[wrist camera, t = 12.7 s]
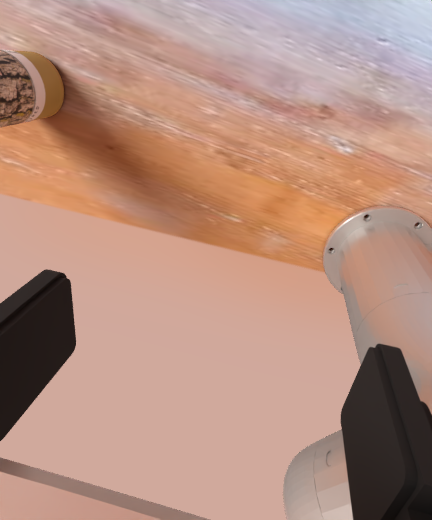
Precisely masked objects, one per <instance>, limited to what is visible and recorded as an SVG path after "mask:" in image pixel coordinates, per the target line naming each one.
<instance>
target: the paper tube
mask: <svg viewBox="0 0 432 520" xmlns="http://www.w3.org/2000/svg"><path fill="white" fill-rule="evenodd" d="M63 99H64V87H63V82H62V79H61V77H60V75H59V73H58V71H57V69H56V68H55V66H54V65H53V64H52V63H51V62H50V61H49V60H48V59H47V58H45V57H44V56H42V55H40V54H37V53H34V52H27V51H11V50H0V127H4V126H9V125H14V124H19V123H24V122H29V121H33V120H38V119H43V118H47V117H50V116H53V115H54V114H56V113H57V112H58V111H59V109H60V108H61V106H62V103H63Z"/></svg>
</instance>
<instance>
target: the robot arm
mask: <svg viewBox="0 0 432 520" xmlns="http://www.w3.org/2000/svg"><path fill="white" fill-rule="evenodd" d="M366 214H368V216H367V217H364V216H365V215H366ZM417 222H418V224H416V225H415V223H417ZM330 248H333V249H330ZM323 265H324V269H325V273H326V275H327V277H328V279H329V281H330V282H331V284H332V285H333V286H334V287H335V288H336V289H337V290H338V291H339V292H340V293H342V294H344V298H345V302H346V307H347V311H348V315H349V319H350V324H351V328H352V332H353V337H354V341H355V345H356V349H357V353H358V357H359V360H360V363H361V366H360V369H359V371H358V373H357V376H356V378H355V380H354V383H353V385H352V387H351V389H350V392H349V394H348V396H347V399H346V401H345V403H344V406H343V408H342V412H341V426H342V429H341V430H339V431H337V432H335V433H333V434H331V435H329V436H326V437H325V438H323V439H321V440H319V441H317V442H315V443H313V444H311V445H310V446H308V447H306V448H305V449H303V450H302V451H301V452H299V453H298V454H297V455H296V456H295V458H294V459H293V460H292V462H291V463H290V465H289V467H288V469H287V472H286V475H285V479H284V488H283V499H284V508H285V514H286V519H287V520H432V228H431V227H430V226H429V225H428V223H427V222H426V221H425V220H423V219H422V218H421V217H420V216H419V215H417V214H415V213H414V212H412V211H410V210H407V209H404V208H401V207H395V206H375V207H370V208H366V209H363V210H360V211H358V212H355V213H354V214H352V215H350V216H348V217H346V218H345V219H344V220H343V221H341V222H340V223H339V224H338V225H337V226H336V227H335V228H334V230H333V231H332V232H331V234H330V235H329V237H328V239H327V241H326V244H325V247H324V251H323ZM75 346H76V337H75V325H74V314H73V303H72V294H71V283H70V280H69V279H67V278H66V275H65V274H64V273H60V272H56V271H52V270H44V271H42V272H41V273H40V274H38V275H37V276H36V277H34V278H33V279H32V280H30V281H29V282H28V283H27V284H25V285H24V286H23V287H21V288H20V289H19V290H17V291H16V292H15V293H13V294H12V295H11V296H10V297H8V298H7V299H6V300H4V301H3V302H2V303H0V441H1V440H2V439H3V438H4V437H5V436H6V434H7V433H8V432H9V431H10V429H11V428H12V427H13V426H14V425H15V423H16V422H17V421H18V420H19V418H20V417H21V416H22V415H23V414H24V412H25V411H26V410H27V409H28V407H29V406H30V405H31V404H32V402H33V401H34V400H35V399H36V398H37V396H38V395H39V394H40V393H41V391H42V390H43V389H44V388H45V386H46V385H47V384H48V383H49V381H50V380H51V379H52V378H53V377H54V375H55V374H56V373H57V372H58V370H59V369H60V368H61V367H62V365H63V364H64V363H65V362H66V360H67V359H68V358H69V357H70V356H71V354H72V353H73V351H74V349H75ZM0 520H209V519H206V518H203V517H199V516H196V515H193V514H189V513H186V512H183V511H180V510H176V509H172V508H170V507H166V506H163V505H160V504H156V503H153V502H149V501H146V500H143V499H139V498H136V497H133V496H129V495H126V494H122V493H119V492H115V491H112V490H109V489H106V488H102V487H99V486H95V485H92V484H89V483H85V482H82V481H79V480H75V479H71V478H69V477H65V476H62V475H58V474H55V473H51V472H48V471H44V470H41V469H38V468H34V467H30V466H27V465H24V464H20V463H17V462H14V461H10V460H7V459H3V458H0Z"/></svg>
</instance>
